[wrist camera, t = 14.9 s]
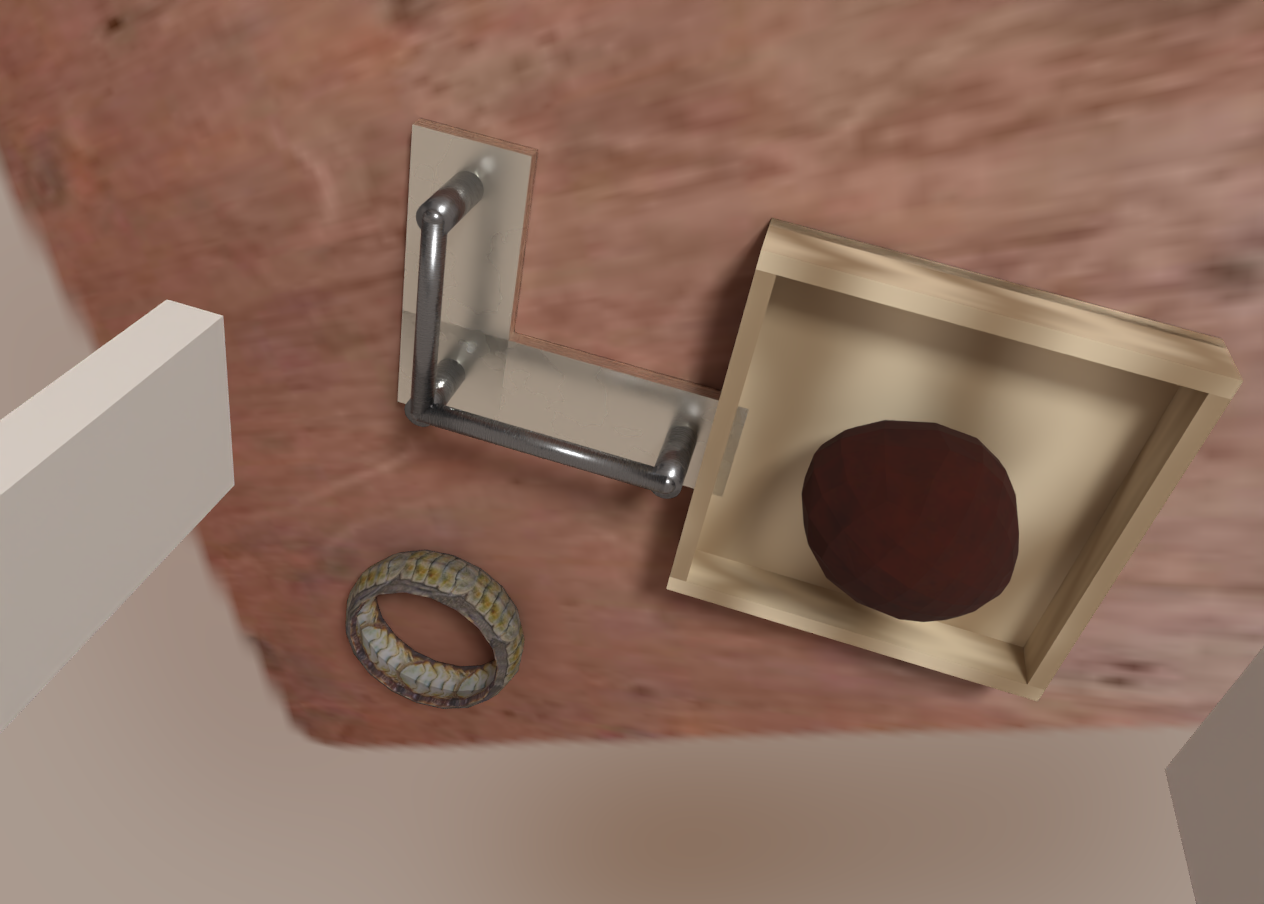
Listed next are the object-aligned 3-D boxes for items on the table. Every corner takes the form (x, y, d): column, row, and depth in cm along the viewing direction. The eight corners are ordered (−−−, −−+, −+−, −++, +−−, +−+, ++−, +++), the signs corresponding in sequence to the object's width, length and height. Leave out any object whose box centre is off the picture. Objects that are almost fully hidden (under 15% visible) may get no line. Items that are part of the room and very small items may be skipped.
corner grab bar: (404, 393, 49) (361, 446, 46) (420, 118, 41) (369, 155, 38) (724, 487, 48) (707, 549, 44) (805, 221, 40) (792, 271, 36)
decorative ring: (463, 698, 62) (567, 628, 56) (442, 741, 59) (550, 671, 53) (330, 593, 59) (426, 509, 54) (302, 633, 56) (400, 549, 51)
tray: (679, 546, 51) (666, 588, 48) (771, 218, 40) (760, 249, 38) (1031, 651, 49) (1037, 701, 47) (1222, 339, 39) (1243, 380, 36)
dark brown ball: (939, 574, 47) (940, 699, 41) (769, 470, 46) (745, 582, 40) (1066, 459, 42) (1090, 581, 36) (880, 340, 41) (872, 445, 35)
